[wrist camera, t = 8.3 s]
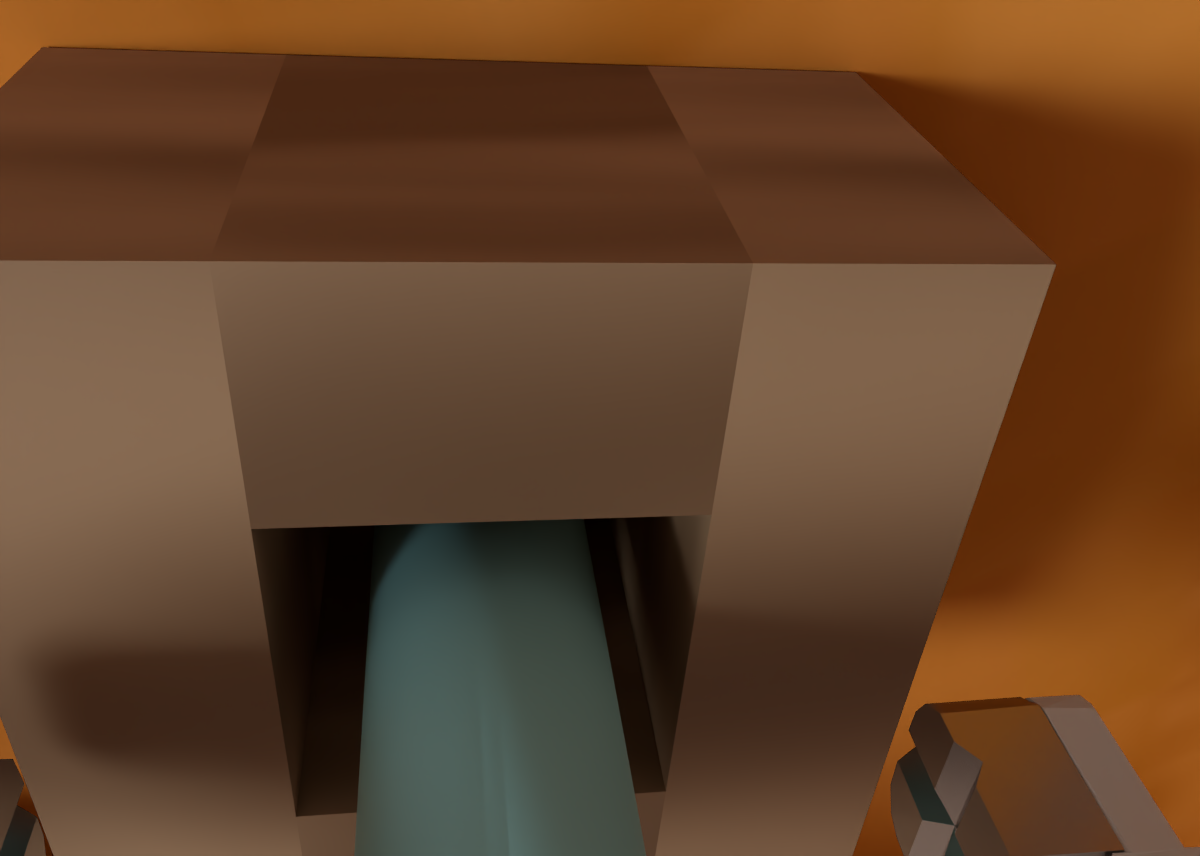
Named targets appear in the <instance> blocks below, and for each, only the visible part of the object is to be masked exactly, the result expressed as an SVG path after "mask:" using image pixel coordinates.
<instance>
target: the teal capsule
mask: <svg viewBox="0 0 1200 856" xmlns="http://www.w3.org/2000/svg"><path fill="white" fill-rule="evenodd" d="M354 856H646V852H645V846H644V841H643V836H642V830H641V825H640V819H639V814H638V809H637V803H636V798H635V792H634V787H633V782H632V776H631V771H630V765H629V760H628V755H627V749H626V744H625V738H624V733H623V728H622V722H621V717H620V711H619V706H618V701H617V695H616V690H615V684H614V679H613V674H612V668H611V663H610V657H609V652H608V647H607V641H606V636H605V630H604V625H603V620H602V614H601V609H600V603H599V598H598V593H597V587H596V582H595V576H594V571H593V566H592V560H591V555H590V549H589V544H588V539H587V533H586V528H585V522H584V519H562V520H530V521H497V522H464V523H432V524H399V525H374V536H373V553H372V569H371V586H370V602H369V619H368V636H367V652H366V669H365V685H364V702H363V718H362V735H361V752H360V768H359V785H358V801H357V818H356V835H355V851H354Z"/></svg>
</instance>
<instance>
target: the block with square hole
mask: <svg viewBox="0 0 1200 856" xmlns="http://www.w3.org/2000/svg"><path fill="white" fill-rule="evenodd" d="M1055 267H1056V264H1055V263H1054V262H1053V261H1052V260H1051V259H1050V258H1049V257H1048V256H1047V255H1046V254H1045V253H1044V252H1043V251H1042V250H1041V249H1040V248H1038V247H1037V246H1036V245H1035V244H1034V243H1033V242H1032V241H1031V240H1030V239H1029V238H1028V237H1027V236H1026V235H1025V234H1024V233H1023V232H1022V231H1021V230H1020V229H1019V228H1018V227H1017V226H1016V225H1014V224H1013V223H1012V222H1011V221H1010V220H1009V219H1008V218H1007V217H1006V216H1005V215H1004V214H1003V213H1002V212H1001V211H1000V210H999V209H998V208H997V207H996V206H995V205H994V204H993V203H992V202H990V201H989V200H988V199H987V198H986V197H985V196H984V195H983V194H982V193H981V192H980V191H979V190H978V189H977V188H976V187H975V186H974V185H973V184H972V183H971V182H970V181H969V180H968V179H967V178H965V177H964V176H963V175H962V174H961V173H960V172H959V171H958V170H957V169H956V168H955V167H954V166H953V165H952V164H951V163H950V162H949V161H948V160H947V159H946V158H945V157H944V156H943V155H941V154H940V153H939V152H938V151H937V150H936V149H935V148H934V147H933V146H932V145H931V144H930V143H929V142H928V141H927V140H926V139H925V138H924V137H923V136H922V135H921V134H920V133H919V132H917V131H916V130H915V129H914V128H913V127H912V126H911V125H910V124H909V123H908V122H907V121H906V120H905V119H904V118H903V117H902V116H901V115H900V114H899V113H898V112H897V111H896V110H895V109H893V108H892V107H891V106H890V105H889V104H888V103H887V102H886V101H885V100H884V99H883V98H882V97H881V96H880V95H879V94H878V93H877V92H876V91H875V90H874V89H873V88H872V87H871V86H869V85H868V84H867V83H866V82H865V81H864V80H863V79H862V78H861V77H860V76H859V75H858V74H857V73H856V72H829V71H796V70H764V69H731V68H698V67H666V66H633V65H600V64H568V63H535V62H503V61H470V60H437V59H405V58H372V57H339V56H307V55H274V54H242V53H209V52H176V51H144V50H111V49H78V48H46V47H42V48H41V49H40V50H39V51H38V52H37V53H36V54H35V55H34V56H33V57H32V58H31V59H30V60H29V61H28V62H27V63H26V64H25V65H24V66H23V67H22V68H21V69H20V70H19V71H18V72H17V73H16V74H14V75H13V76H12V77H11V78H10V79H9V80H8V81H7V82H6V83H5V84H4V85H3V86H2V87H1V88H0V717H1V720H2V722H3V725H4V727H5V730H6V733H7V735H8V738H9V740H10V743H11V746H12V748H13V751H14V753H15V756H16V759H17V761H18V764H19V767H20V769H21V772H22V774H23V777H24V780H25V782H26V785H27V787H28V790H29V793H30V795H31V798H32V800H33V803H34V806H35V808H36V811H37V814H38V816H39V819H40V821H41V824H42V827H43V829H44V832H45V834H46V837H47V840H48V842H49V845H50V847H51V850H52V853H53V855H54V856H354V851H355V835H356V818H357V801H358V785H359V768H360V752H361V735H362V718H363V702H364V685H365V669H366V652H367V636H368V619H369V602H370V586H371V569H372V553H373V536H374V525H399V524H432V523H464V522H497V521H530V520H562V519H584V522H585V528H586V533H587V539H588V544H589V549H590V555H591V560H592V566H593V571H594V576H595V582H596V587H597V593H598V598H599V603H600V609H601V614H602V620H603V625H604V630H605V636H606V641H607V647H608V652H609V657H610V663H611V668H612V674H613V679H614V684H615V690H616V695H617V701H618V706H619V711H620V717H621V722H622V728H623V733H624V738H625V744H626V749H627V755H628V760H629V765H630V771H631V776H632V782H633V787H634V792H635V798H636V803H637V809H638V814H639V819H640V825H641V830H642V836H643V841H644V846H645V852H646V856H852V855H853V852H854V849H855V847H856V844H857V841H858V838H859V835H860V832H861V829H862V826H863V823H864V820H865V818H866V815H867V812H868V809H869V806H870V803H871V800H872V797H873V794H874V791H875V789H876V786H877V783H878V780H879V777H880V774H881V771H882V768H883V765H884V762H885V760H886V757H887V754H888V751H889V748H890V745H891V742H892V739H893V736H894V733H895V731H896V728H897V725H898V722H899V719H900V716H901V713H902V710H903V707H904V704H905V702H906V699H907V696H908V693H909V690H910V687H911V684H912V681H913V678H914V675H915V673H916V670H917V667H918V664H919V661H920V658H921V655H922V652H923V649H924V647H925V644H926V641H927V638H928V635H929V632H930V629H931V626H932V623H933V620H934V618H935V615H936V612H937V609H938V606H939V603H940V600H941V597H942V594H943V591H944V589H945V586H946V583H947V580H948V577H949V574H950V571H951V568H952V565H953V562H954V560H955V557H956V554H957V551H958V548H959V545H960V542H961V539H962V536H963V533H964V531H965V528H966V525H967V522H968V519H969V516H970V513H971V510H972V507H973V504H974V502H975V499H976V496H977V493H978V490H979V487H980V484H981V481H982V478H983V475H984V473H985V470H986V467H987V464H988V461H989V458H990V455H991V452H992V449H993V446H994V444H995V441H996V438H997V435H998V432H999V429H1000V426H1001V423H1002V420H1003V418H1004V415H1005V412H1006V409H1007V406H1008V403H1009V400H1010V397H1011V394H1012V391H1013V389H1014V386H1015V383H1016V380H1017V377H1018V374H1019V371H1020V368H1021V365H1022V362H1023V360H1024V357H1025V354H1026V351H1027V348H1028V345H1029V342H1030V339H1031V336H1032V333H1033V331H1034V328H1035V325H1036V322H1037V319H1038V316H1039V313H1040V310H1041V307H1042V304H1043V302H1044V299H1045V296H1046V293H1047V290H1048V287H1049V284H1050V281H1051V278H1052V275H1053V273H1054V270H1055Z"/></svg>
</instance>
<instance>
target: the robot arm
mask: <svg viewBox="0 0 1200 856" xmlns="http://www.w3.org/2000/svg"><path fill="white" fill-rule="evenodd" d="M909 732H910V734H911V736H912V739H913V741H914V743H915V745H916V747H915V748H913V749H912V750H911V751H910V752H908V753H907V754H906V755H905V756H903V757H902V758H901V759H900V760H898V762H897V765H896V768H895V772H894V775H893V778H892V782H891V814H892V819H893V823H894V827H895V832H896V836H897V839H898V842H899V844H900V847H901V849H902V852H903V855H904V856H1200V847H1184V846H1183V845H1182V843H1181V842H1180V840H1179V839H1178V837H1177V836H1176V834H1175V833H1174V831H1173V829H1172V828H1171V826H1170V825H1169V823H1168V822H1167V820H1166V819H1165V817H1164V815H1163V814H1162V812H1161V811H1160V809H1159V808H1158V806H1157V805H1156V803H1155V801H1154V800H1153V798H1152V797H1151V795H1150V794H1149V792H1148V791H1147V789H1146V788H1145V786H1144V784H1143V783H1142V781H1141V780H1140V778H1139V777H1138V775H1137V774H1136V772H1135V770H1134V769H1133V767H1132V766H1131V764H1130V763H1129V761H1128V760H1127V758H1126V756H1125V755H1124V753H1123V752H1122V750H1121V749H1120V747H1119V746H1118V744H1117V743H1116V741H1115V739H1114V738H1113V736H1112V735H1111V733H1110V732H1109V730H1108V729H1107V727H1106V725H1105V724H1104V722H1103V721H1102V719H1101V718H1100V716H1099V715H1098V713H1097V712H1096V710H1095V708H1094V707H1093V706H1092V704H1091V703H1089V702H1088V701H1087V700H1085V699H1084V698H1083V697H1081V696H1080V695H1064V696H1049V697H1033V698H1025V699H1024V698H1021V697H1013V698H999V699H985V700H971V701H958V702H944V703H930V704H925V705H923V706H922V707H921V708H920V709H919V710H917V711H916V712H915V715H914V718H913V720H912V723H911V725H910V728H909ZM23 786H24V782H23V780H22V778H21V776H20V773H19V771H18V769H17V767H16V765H15V762H14V760H13V759H0V856H46V853H45V844H44V835H43V832H42V830H41V827H40V824H39V821H38V819H37V817H36V816H34V815H33V814H31V813H29V812H28V811H26V810H24V809H23V808H21V807H19V806H18V805H17V803H18V800H19V797H20V794H21V792H22V789H23Z"/></svg>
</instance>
